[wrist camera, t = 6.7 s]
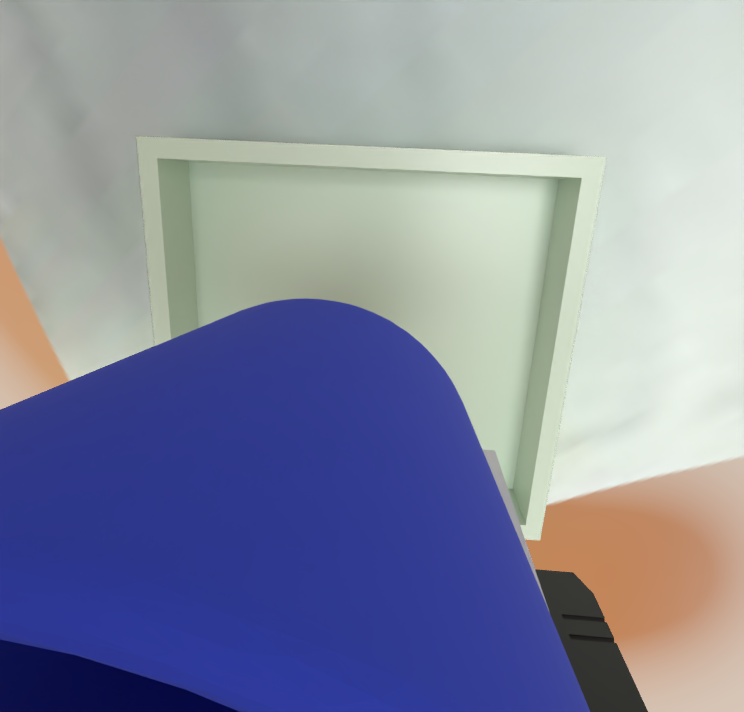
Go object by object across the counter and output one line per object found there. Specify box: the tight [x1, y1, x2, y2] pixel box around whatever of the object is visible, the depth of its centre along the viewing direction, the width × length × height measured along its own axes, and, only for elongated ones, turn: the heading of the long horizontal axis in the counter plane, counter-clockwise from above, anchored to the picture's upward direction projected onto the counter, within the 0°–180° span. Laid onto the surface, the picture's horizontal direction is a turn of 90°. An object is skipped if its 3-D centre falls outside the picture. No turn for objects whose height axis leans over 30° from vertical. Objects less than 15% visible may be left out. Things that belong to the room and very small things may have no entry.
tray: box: [136, 136, 606, 540], centre depth 25 cm, size 18×19×4 cm
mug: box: [0, 298, 590, 712], centre depth 8 cm, size 8×12×10 cm
